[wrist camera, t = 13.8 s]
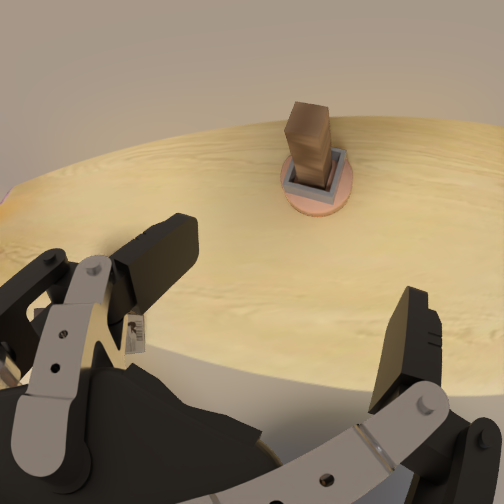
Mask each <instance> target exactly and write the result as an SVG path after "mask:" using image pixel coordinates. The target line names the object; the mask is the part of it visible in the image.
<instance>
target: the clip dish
mask: <svg viewBox="0 0 504 504" xmlns="http://www.w3.org/2000/svg"><path fill="white" fill-rule="evenodd" d="M331 153H332V169H331V172H330V176H329V179H328V183H327V186H326V189H325V191H323V190H319V189H315V188H311V187H308V186H304V185H300V184H299V180H298V176H297V173H296V169H295V166H294V162H293V159H292V155H290V156H289V157H288V159H287V160H286V161H285V163H284V165H283V167H282V170H281V185H282V188H283V190H284V193H285V195H286V198H287V200H288V201H289V203H290V204H291V205H292V207H294V208H295V209H296V210H297V211H299V212H300V213H302V214H305V215H308V216H312V217H323V216H328V215H331V214H333V213H335V212H337V211H339V210H340V209H341V208H342V207H343V206H344V205H345V204H346V203H347V201H348V199H349V197H350V194H351V190H352V180H353V175H352V169H351V166H350V164H349V162H348V161H347V159H346V150H343V149H339V148H335V147H331Z"/></svg>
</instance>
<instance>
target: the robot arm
mask: <svg viewBox="0 0 504 504" xmlns="http://www.w3.org/2000/svg"><path fill="white" fill-rule="evenodd" d="M198 255H199V241H198V222H197V219H196V218H195V217H191V216H188V215H185V214H181V213H176V214H174V215H173V216H171V217H170V218H169V219H167V220H166V221H163V222H161V223H158V224H155V225H153V226H151V227H150V228H148V229H147V230H145V231H144V232H143V234H140V235H138V236H137V237H135V239H133V240H131V241H130V242H128V243H127V244H126V245H124V246H123V247H122V248H120V249H119V250H118V251H116V252H115V253H113V254H112V255H111V256H109V257H107V256H104V255H94V256H90V257H88V258H86V259H84V260H82V261H81V262H80V263H75V262H69V261H68V259H67V256H66V253H65V251H64V250H62V249H59V248H55V249H50V250H47V251H45V252H44V253H42V254H41V255H39V256H38V257H37V258H35V259H34V260H33V261H32V262H30V263H29V264H28V265H27V266H25V267H24V268H23V269H22V270H20V271H19V272H18V273H17V274H15V275H14V276H13V277H12V278H11V279H9V280H8V281H7V282H6V283H5V284H4V285H2V286H1V287H0V504H351V503H353V502H354V501H355V500H357V499H358V498H360V497H361V496H363V495H364V494H366V493H367V492H368V491H370V490H371V489H372V488H374V487H375V486H376V485H377V484H379V483H380V482H382V481H383V480H384V479H385V478H387V477H388V476H389V475H390V474H391V473H392V472H393V471H394V468H395V467H396V466H397V465H398V464H399V463H400V464H401V465H403V466H405V467H406V468H408V469H409V470H411V471H413V472H414V475H413V479H412V481H411V485H410V488H409V491H408V494H407V497H406V499H405V502H404V504H493V500H494V495H495V489H496V484H497V478H498V472H499V463H500V456H501V445H502V436H501V432H500V429H499V427H498V426H497V424H496V423H495V422H494V421H492V420H491V419H488V418H485V417H483V418H478V419H476V420H475V421H474V422H472V423H469V422H468V421H466V420H465V419H463V418H461V417H460V416H458V415H457V414H455V413H454V412H452V411H451V410H450V409H449V400H448V397H447V395H446V393H445V392H444V390H443V389H442V388H441V376H442V349H441V347H442V338H441V337H442V323H441V321H440V319H439V316H438V314H437V312H436V311H434V310H431V309H428V293H427V292H425V291H422V290H419V289H416V288H413V287H410V286H407V287H406V289H405V290H404V292H403V295H402V297H401V299H400V301H399V303H398V305H397V307H396V309H395V311H394V313H393V315H392V317H391V319H390V321H389V323H388V326H387V329H386V333H385V339H384V344H383V349H382V355H381V360H380V364H379V369H378V374H377V378H376V382H375V387H374V391H373V395H372V399H371V403H370V407H369V411H368V413H370V414H373V416H372V417H371V418H369V419H368V420H366V421H365V422H363V423H362V424H360V425H359V424H357V425H354V426H353V427H351V428H349V429H348V430H346V431H344V432H343V433H341V434H340V435H338V436H336V437H335V438H333V439H331V440H330V441H328V442H326V443H324V444H323V445H321V446H319V447H317V448H316V449H314V450H312V451H310V452H308V453H307V454H305V455H303V456H301V457H299V458H297V459H295V460H293V461H291V462H290V463H287V464H285V465H283V464H282V462H281V461H280V459H279V458H278V456H277V455H276V454H275V453H274V451H273V450H271V449H270V448H269V447H268V446H267V445H266V444H265V443H264V442H262V441H261V440H260V437H261V434H262V431H260V430H258V429H256V428H253V427H251V426H249V425H246V424H244V423H242V422H240V421H237V420H235V419H233V418H231V417H229V416H227V415H223V414H218V413H214V412H210V411H206V410H202V409H198V408H195V407H191V406H188V405H186V404H184V403H182V401H181V400H179V399H178V398H177V397H176V396H175V395H174V394H173V393H172V392H171V391H170V390H169V389H168V388H167V387H166V386H165V385H164V384H163V383H162V382H161V381H160V380H159V379H158V378H156V377H155V376H153V375H151V374H149V373H148V372H146V371H145V370H143V369H142V368H140V367H138V366H137V365H135V364H134V363H132V364H131V365H130V366H129V367H128V368H127V369H126V365H125V357H124V356H125V345H126V334H127V325H128V316H127V313H128V312H129V311H130V310H132V311H134V312H135V313H137V314H139V315H141V316H142V315H143V314H144V313H145V312H146V311H147V310H148V309H149V308H150V307H151V306H152V305H153V304H154V303H155V302H156V301H157V300H158V299H159V298H160V297H161V296H162V295H163V294H164V293H165V292H166V291H167V290H168V289H169V288H170V287H171V286H172V285H173V284H174V283H176V282H177V281H178V280H179V279H180V278H181V277H182V276H183V275H184V274H185V273H186V272H187V271H188V270H189V269H190V268H191V267H192V266H193V265H194V264H195V262H196V261H197V258H198ZM45 291H46V292H47V294H48V296H49V298H50V300H51V303H50V304H49V305H48V306H47V307H46V308H45V309H44V310H43V311H42V312H40V313H39V314H38V315H37V316H36V317H35V318H34V319H33V320H32V321H31V322H29V320H28V318H27V316H26V311H27V308H28V306H29V305H30V304H31V303H32V302H33V301H34V300H36V299H37V298H38V297H39V296H40V295H41V294H42V293H43V292H45ZM32 367H33V368H32ZM31 368H32V372H31V376H30V380H29V384H25V385H22V384H21V383H20V382H19V381H20V380H21V379H22V378H23V377H24V375H25V374H26V373H27V372H28V371H29V370H30V369H31Z"/></svg>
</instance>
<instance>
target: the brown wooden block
mask: <svg viewBox="0 0 504 504" xmlns="http://www.w3.org/2000/svg"><path fill="white" fill-rule="evenodd" d="M284 132H285V135H286V138H287V142H288V145H289V148H290V152H291V155H292V159H293V162H294V166H295V169H296V173H297V176H298V180H299V184H300V185H304V186H308V187H311V188H315V189H319V190H323V191H325V189H326V186H327V183H328V179H329V176H330V172H331V169H332V153H331V137H330V122H329V110H328V107H324V106H319V105H314V104H307V103H301V102H295V104H294V107H293V109H292V112H291V115H290V117H289V120H288V122H287V125H286V127H285V130H284Z"/></svg>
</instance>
